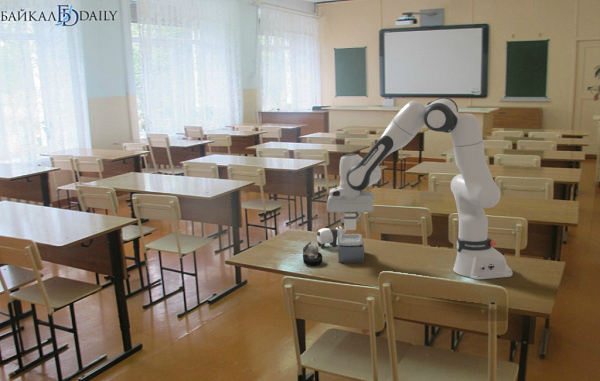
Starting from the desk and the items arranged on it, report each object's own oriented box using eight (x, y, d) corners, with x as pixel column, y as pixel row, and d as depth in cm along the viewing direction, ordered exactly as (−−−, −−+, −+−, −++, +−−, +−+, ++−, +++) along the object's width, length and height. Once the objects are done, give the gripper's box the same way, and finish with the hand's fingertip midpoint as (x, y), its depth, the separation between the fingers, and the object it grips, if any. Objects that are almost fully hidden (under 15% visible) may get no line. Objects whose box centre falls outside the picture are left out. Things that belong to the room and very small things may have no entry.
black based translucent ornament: (316, 272, 229) (296, 265, 234) (329, 259, 237) (309, 253, 242) (316, 259, 226) (296, 253, 231) (329, 247, 234) (309, 240, 239)
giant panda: (319, 249, 251) (319, 229, 249) (315, 246, 256) (314, 226, 254) (348, 245, 256) (348, 225, 254) (343, 241, 261) (343, 222, 259)
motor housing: (362, 251, 246) (362, 233, 244) (364, 262, 232) (364, 243, 230) (338, 251, 247) (337, 233, 245) (338, 262, 232) (338, 243, 231)
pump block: (355, 224, 240) (355, 209, 239) (356, 230, 232) (356, 214, 231) (343, 224, 240) (343, 209, 239) (344, 230, 232) (344, 214, 231)
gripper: (373, 188, 235) (373, 219, 238) (326, 189, 236) (327, 220, 239) (374, 192, 229) (374, 223, 232) (326, 192, 230) (327, 223, 233)
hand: (350, 221), depth 236 cm, fingers closed on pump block, 5 cm apart
